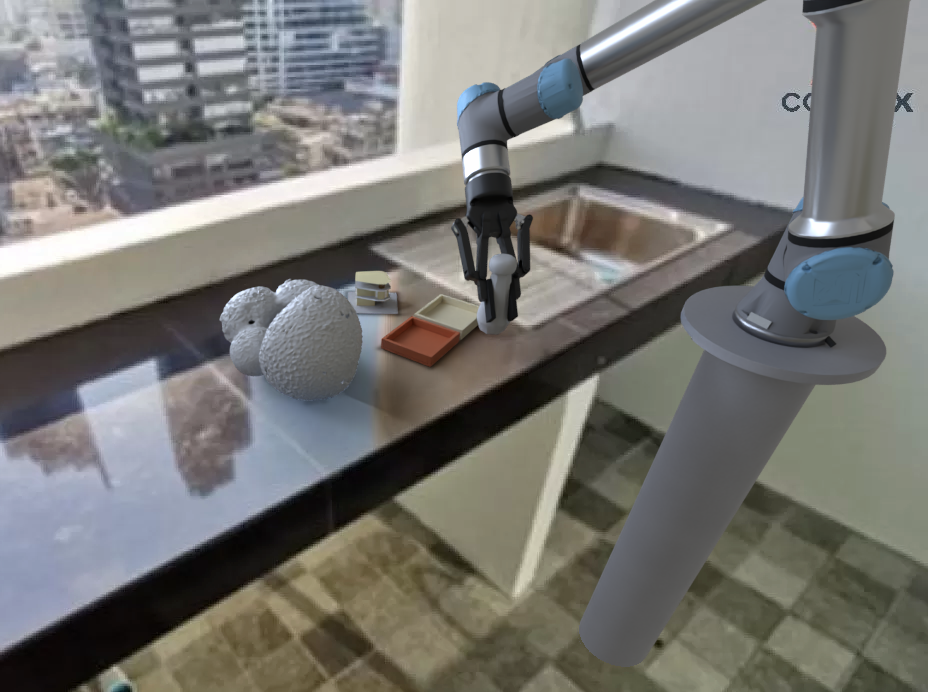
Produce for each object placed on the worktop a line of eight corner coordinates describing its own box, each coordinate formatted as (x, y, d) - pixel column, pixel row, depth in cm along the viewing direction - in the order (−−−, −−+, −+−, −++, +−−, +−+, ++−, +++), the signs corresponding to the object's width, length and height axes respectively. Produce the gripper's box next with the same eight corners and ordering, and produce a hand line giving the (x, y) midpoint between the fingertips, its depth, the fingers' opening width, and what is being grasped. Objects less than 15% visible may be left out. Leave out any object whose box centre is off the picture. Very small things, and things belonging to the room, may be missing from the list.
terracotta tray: (458, 341, 110) (460, 332, 108) (430, 367, 103) (431, 357, 102) (410, 325, 114) (411, 315, 113) (380, 348, 108) (381, 338, 107)
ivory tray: (486, 317, 116) (488, 308, 115) (461, 340, 110) (462, 330, 109) (439, 302, 121) (441, 293, 120) (413, 323, 115) (413, 313, 114)
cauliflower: (323, 286, 111) (289, 208, 91) (397, 387, 102) (378, 325, 81) (231, 347, 112) (176, 284, 91) (296, 454, 102) (251, 409, 82)
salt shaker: (515, 328, 104) (530, 256, 95) (496, 341, 101) (510, 268, 92) (487, 316, 107) (498, 246, 99) (467, 328, 104) (478, 257, 96)
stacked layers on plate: (346, 313, 118) (346, 287, 115) (348, 292, 125) (348, 267, 121) (397, 314, 118) (399, 288, 114) (396, 292, 124) (398, 267, 121)
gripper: (525, 190, 105) (540, 322, 103) (434, 195, 104) (448, 328, 102) (543, 167, 97) (559, 309, 95) (445, 172, 96) (460, 316, 94)
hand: (502, 319), depth 98 cm, fingers closed on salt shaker, 3 cm apart
